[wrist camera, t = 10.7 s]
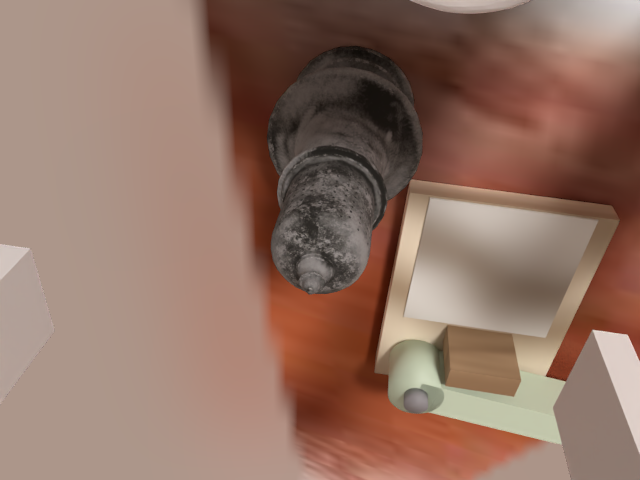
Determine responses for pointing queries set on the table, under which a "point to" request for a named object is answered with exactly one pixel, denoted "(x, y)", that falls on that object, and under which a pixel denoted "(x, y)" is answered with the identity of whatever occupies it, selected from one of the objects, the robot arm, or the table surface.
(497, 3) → the sprinkles bottle
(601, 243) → the board
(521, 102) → the table surface
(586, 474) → the robot arm
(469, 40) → the table surface
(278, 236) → the grey stone chess piece
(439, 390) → the leg
